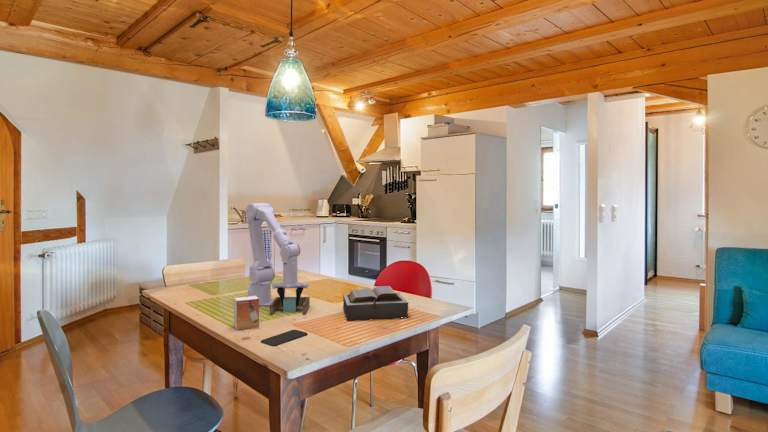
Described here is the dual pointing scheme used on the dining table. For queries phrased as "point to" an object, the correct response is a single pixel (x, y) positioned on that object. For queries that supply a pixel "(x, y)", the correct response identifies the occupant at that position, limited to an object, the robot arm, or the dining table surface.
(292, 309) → the teal block
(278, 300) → the walnut crate
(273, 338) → the phone
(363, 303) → the bible
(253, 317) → the small box
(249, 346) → the dining table surface
